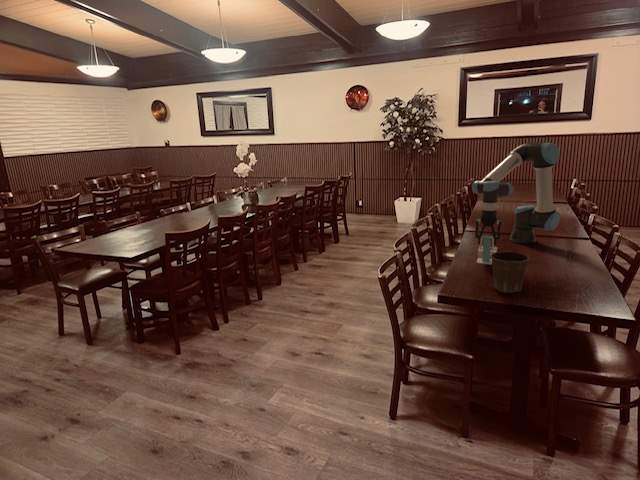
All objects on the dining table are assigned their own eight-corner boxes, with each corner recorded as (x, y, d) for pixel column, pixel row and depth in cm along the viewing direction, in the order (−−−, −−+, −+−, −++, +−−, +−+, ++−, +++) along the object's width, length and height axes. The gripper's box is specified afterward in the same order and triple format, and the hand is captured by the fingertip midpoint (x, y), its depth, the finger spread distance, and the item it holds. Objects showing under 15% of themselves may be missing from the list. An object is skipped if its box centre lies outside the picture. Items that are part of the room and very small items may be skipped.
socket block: (496, 253, 250) (497, 247, 249) (495, 258, 241) (496, 251, 240) (479, 252, 254) (479, 245, 253) (477, 256, 245) (478, 250, 244)
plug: (490, 259, 237) (491, 236, 234) (489, 262, 234) (491, 238, 230) (482, 259, 239) (483, 235, 236) (481, 261, 235) (482, 237, 232)
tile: (494, 260, 239) (494, 259, 238) (493, 264, 231) (493, 263, 231) (478, 258, 242) (478, 257, 242) (476, 263, 234) (476, 262, 234)
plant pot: (488, 293, 193) (490, 260, 189) (488, 281, 207) (490, 250, 203) (527, 297, 187) (530, 262, 183) (524, 284, 202) (527, 252, 197)
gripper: (470, 210, 229) (468, 250, 235) (507, 211, 222) (504, 253, 228) (472, 207, 236) (469, 247, 242) (507, 209, 228) (504, 249, 234)
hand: (486, 250), depth 235 cm, fingers open, 5 cm apart
